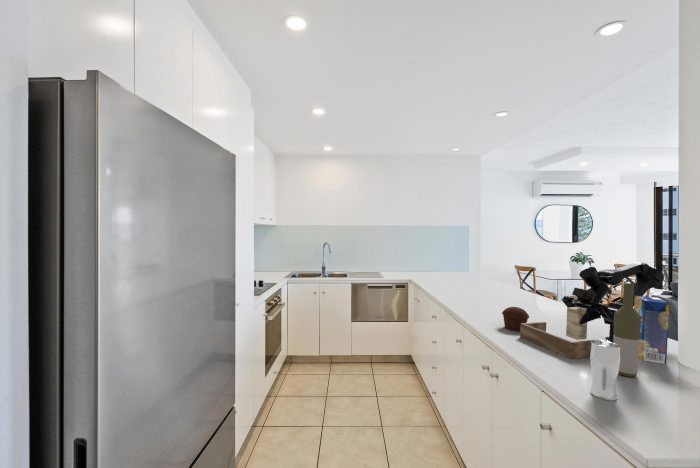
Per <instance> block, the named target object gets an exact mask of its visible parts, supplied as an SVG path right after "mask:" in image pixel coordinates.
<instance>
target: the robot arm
mask: <svg viewBox="0 0 700 468" xmlns="http://www.w3.org/2000/svg"><path fill="white" fill-rule="evenodd" d="M632 276H635V281H636V282H634V283H633V284H634V292H633V307H634V303H635V296H644V295H645V294H646V293H647V292H648V291H649V290H650V289H654V288H656V287H658V286H660V284H662V283H663V281H664V280H665V275H664V274H663V272H661V271H660V270H658V269H657V268H654V267H652V266H650V265H649V264H648V263H645V262H639V261H633V262H631V263H629V264H626V265H624V266H620V267H617V268H615V269H601V270H599V271H598V270H597V268H596V267H595V266H589V267H588V268H585V269H583V270H581V271H580V272H579V277H580V279H581V280H582V281H583V283H584V284H585V285H586V286H587V287H589V288H588V289H583V288H581V287H580V288H579V287H574V288H573V291H572V294H571V296H568V295H564V296H563V297H562V298H561V301H562V303H563V304H564V305H565V306H566V307H567V308H569V307H578V308H582V309H586V310H587V312H586V313H585V315H584V316H583V317H582V319H581V320H580V322H579V323H580V324H581V325H582V324H584V323H587V324H588V323H589V322H591V321H594V320H597V319H601V318H603V322H604V324H605V325H609V333H608V334H609V335H608V336H605V339H606V340H611V341H613V334H614V313H615V312H616V311H617V310H618V309H620V308H621V307H622V306H623V296H622V297H621V299H619V301H618V302H616V303H615V302H611V301H610V302H609V303H608V304H607V305H606V304H604V301H603V299H604V297H606V295H612V293H613V291H612V288H611V287H609V286H614V287H615V286H617V285H619V284H621V283H622V282H623V279H626V278H629V277H632ZM572 296H575V297H577V298H576V299H577V300H578V301H577V300H576V299H575V298H574V297H572Z"/></svg>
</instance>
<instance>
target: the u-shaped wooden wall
mask: <svg viewBox="0 0 700 468" xmlns="http://www.w3.org/2000/svg"><path fill="white" fill-rule="evenodd" d="M519 336H520V338H521V339H524V340H526V341H528V342H531V343H533V344H535V345H537V346H540V347H543V348H544V349H546V350H549V351H552V352H554V353H556V354H558V355H561V356H563V355H564V357H566V358H568V359H570V358H571V359H570V360H577V358H579V359H586V358H585V357H588V358H590V349H591V341H592V340H593V339H590V340H589V339H588V340H587V339H586V340H576V341H570V340H568V339H566V338H564V337H563V338H562V337H560V336H557V335H554V334H552V333H550V332H547V321H538V322H535V321H534V322H527V323H521V326H520V332H519Z"/></svg>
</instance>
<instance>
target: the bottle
mask: <svg viewBox="0 0 700 468" xmlns="http://www.w3.org/2000/svg"><path fill="white" fill-rule="evenodd" d="M634 284H635V283H630V282H627V283H626V282H625V283H623V285H622V289H623V292H622V293H623V294H622V297H623V306H622V307H621V308H620V309H618V310H617V311H616V312H615V313H614V334H613V340H612V341H613V343H616V344H618V345H619V346H620V368H619V373H618V375H621V376H624V377H632V378H633V377H636V376H637V374H638V368H639V357H638V356H639V343H640V329H641V315H640V314H639V313H638V312H637V311H636V310H635V309H634V306H633V292H634Z"/></svg>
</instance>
